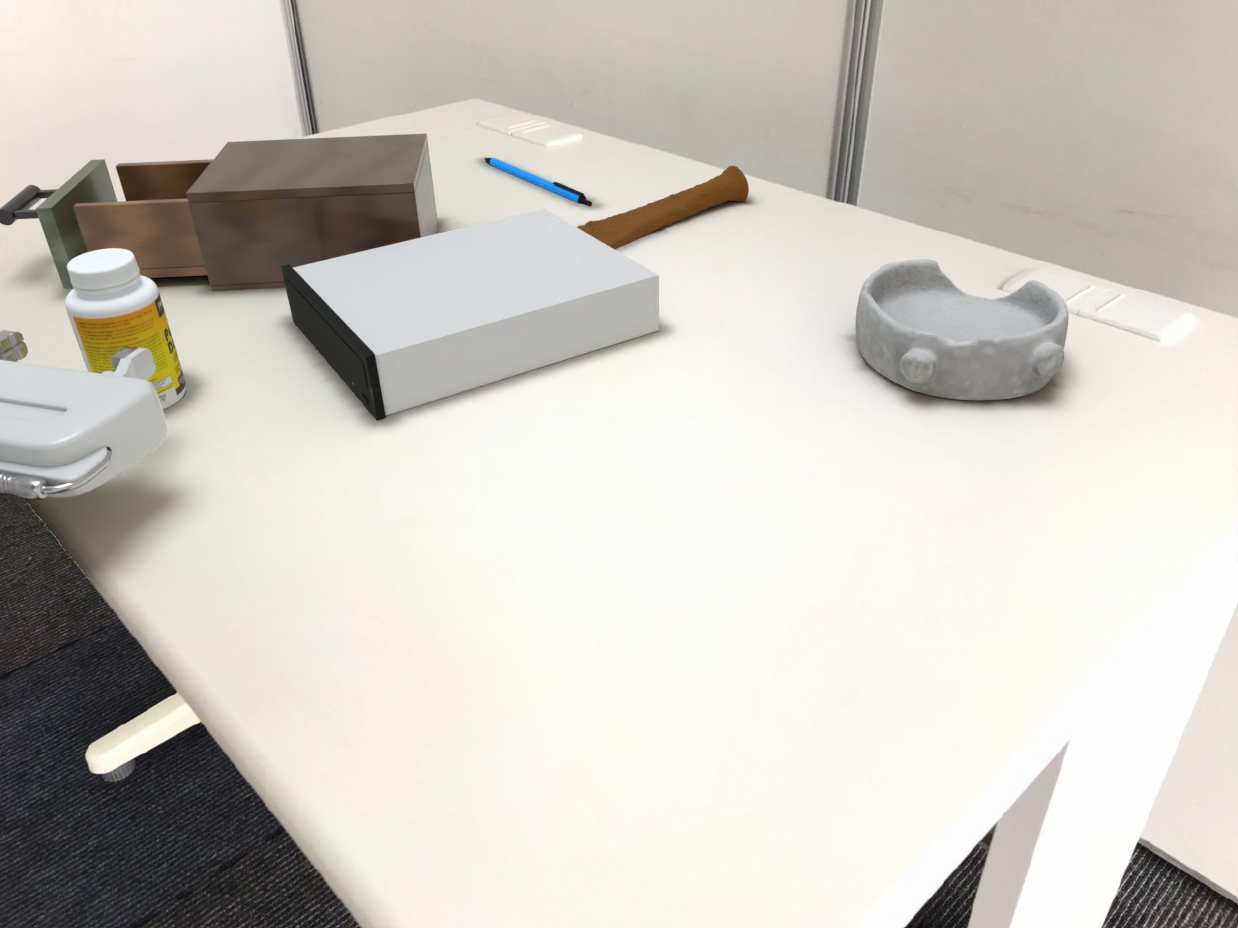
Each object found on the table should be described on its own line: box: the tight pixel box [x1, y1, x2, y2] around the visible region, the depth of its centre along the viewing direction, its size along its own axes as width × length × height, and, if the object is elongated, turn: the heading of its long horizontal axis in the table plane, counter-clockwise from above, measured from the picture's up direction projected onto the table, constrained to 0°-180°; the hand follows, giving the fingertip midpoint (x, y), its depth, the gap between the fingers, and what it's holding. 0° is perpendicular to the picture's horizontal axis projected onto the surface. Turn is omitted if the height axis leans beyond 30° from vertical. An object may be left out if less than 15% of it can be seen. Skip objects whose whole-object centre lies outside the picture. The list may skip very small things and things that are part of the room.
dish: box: [855, 258, 1070, 401], centre depth 70 cm, size 14×14×5 cm
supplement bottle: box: [64, 248, 187, 411], centre depth 66 cm, size 6×6×10 cm
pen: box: [483, 157, 593, 206], centre depth 104 cm, size 1×19×1 cm, turn 39°
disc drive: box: [281, 208, 660, 421], centre depth 75 cm, size 18×22×5 cm
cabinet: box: [186, 133, 439, 292], centre depth 87 cm, size 18×14×9 cm
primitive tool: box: [576, 165, 750, 250], centre depth 94 cm, size 19×6×4 cm, turn 130°
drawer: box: [0, 158, 214, 290], centre depth 86 cm, size 21×12×7 cm, turn 95°
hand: (78, 348), depth 63 cm, fingers open, 8 cm apart
